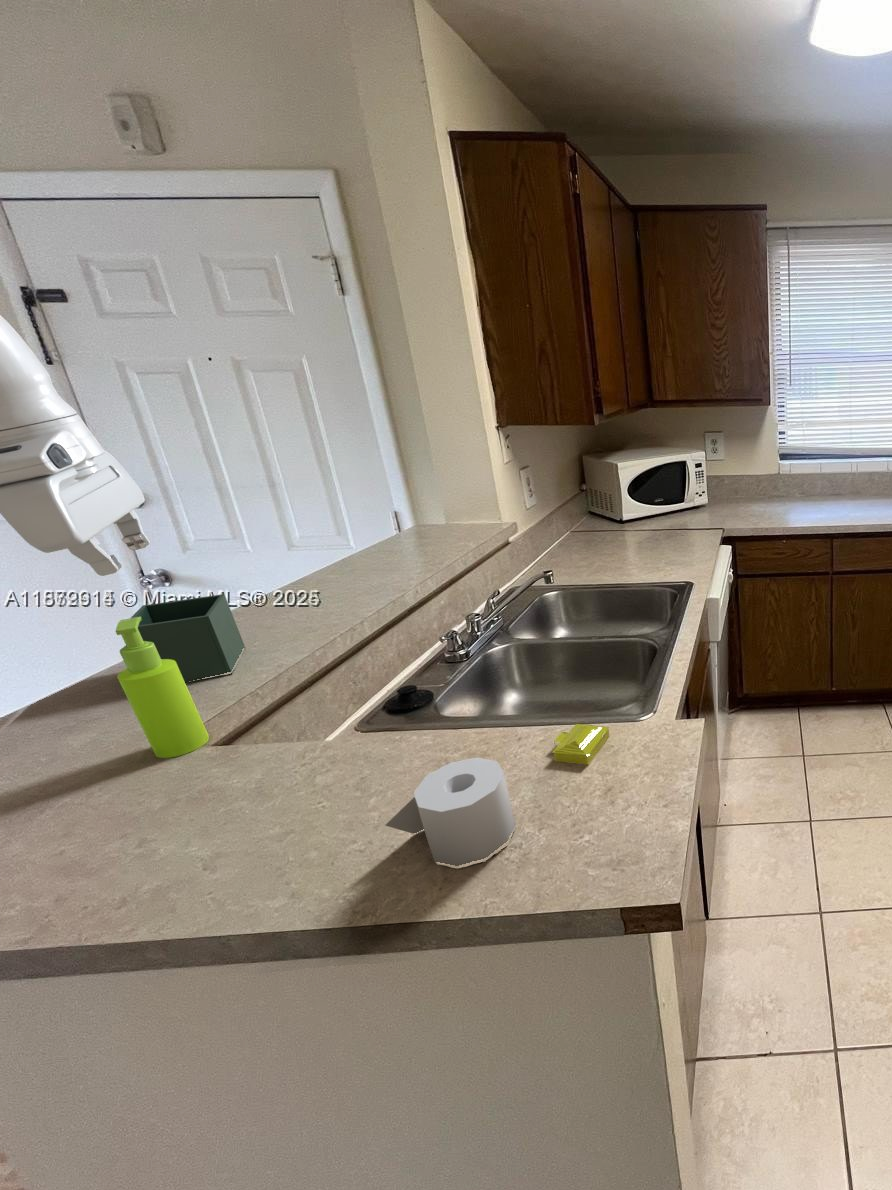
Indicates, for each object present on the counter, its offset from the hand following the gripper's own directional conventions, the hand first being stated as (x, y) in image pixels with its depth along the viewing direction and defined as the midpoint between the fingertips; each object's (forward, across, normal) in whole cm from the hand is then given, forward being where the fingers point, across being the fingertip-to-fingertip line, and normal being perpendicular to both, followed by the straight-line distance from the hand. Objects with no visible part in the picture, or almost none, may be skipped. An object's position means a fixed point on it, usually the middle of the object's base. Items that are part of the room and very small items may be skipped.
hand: (127, 559), depth 76 cm
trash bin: (+29, -34, -16) cm, 48 cm away
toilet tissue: (+35, +34, +24) cm, 54 cm away
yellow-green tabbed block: (+39, +22, +40) cm, 60 cm away
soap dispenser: (+30, -6, -11) cm, 32 cm away
